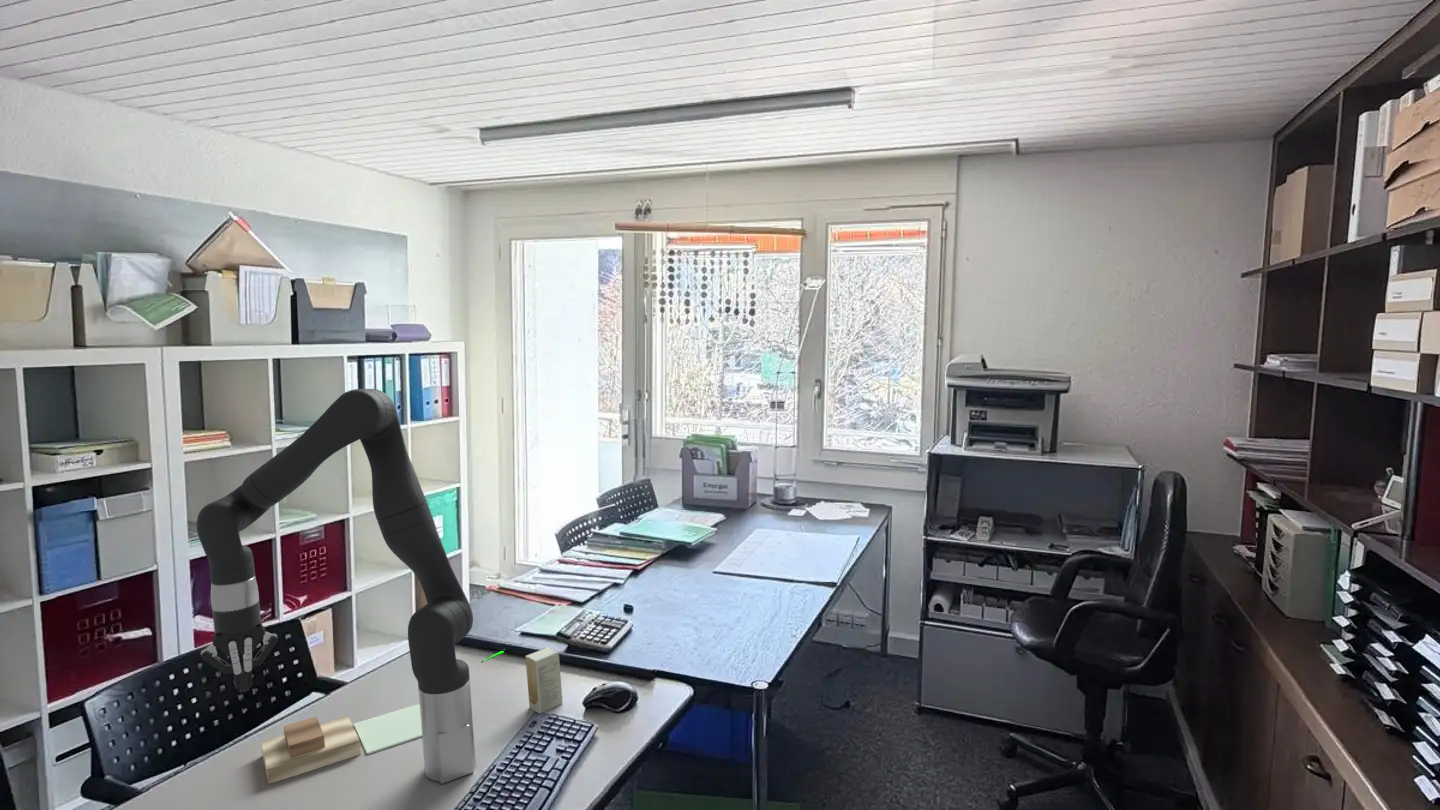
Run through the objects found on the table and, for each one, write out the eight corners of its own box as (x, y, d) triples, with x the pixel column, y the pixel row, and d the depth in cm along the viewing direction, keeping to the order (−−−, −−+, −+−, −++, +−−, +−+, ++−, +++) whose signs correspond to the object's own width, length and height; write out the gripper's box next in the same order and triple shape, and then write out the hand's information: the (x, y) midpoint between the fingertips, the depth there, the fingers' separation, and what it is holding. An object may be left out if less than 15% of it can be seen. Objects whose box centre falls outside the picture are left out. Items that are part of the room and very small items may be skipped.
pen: (524, 644, 204) (524, 641, 204) (480, 664, 193) (480, 661, 193) (522, 643, 205) (522, 640, 205) (478, 663, 193) (478, 660, 193)
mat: (467, 721, 165) (467, 720, 165) (367, 754, 153) (367, 752, 153) (448, 696, 176) (448, 694, 176) (353, 725, 165) (353, 723, 165)
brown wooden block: (325, 747, 151) (323, 735, 151) (290, 758, 148) (289, 745, 147) (317, 728, 158) (316, 716, 158) (284, 737, 155) (283, 726, 155)
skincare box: (552, 697, 175) (549, 645, 173) (563, 703, 172) (560, 651, 170) (527, 707, 170) (524, 655, 169) (538, 714, 167) (534, 661, 166)
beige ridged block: (360, 754, 154) (359, 740, 153) (268, 784, 144) (267, 769, 144) (349, 728, 163) (348, 715, 163) (262, 755, 154) (260, 741, 154)
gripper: (193, 617, 137) (203, 708, 139) (278, 599, 145) (286, 687, 147) (192, 604, 143) (202, 692, 145) (273, 588, 151) (282, 672, 153)
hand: (244, 689), depth 146 cm, fingers closed
